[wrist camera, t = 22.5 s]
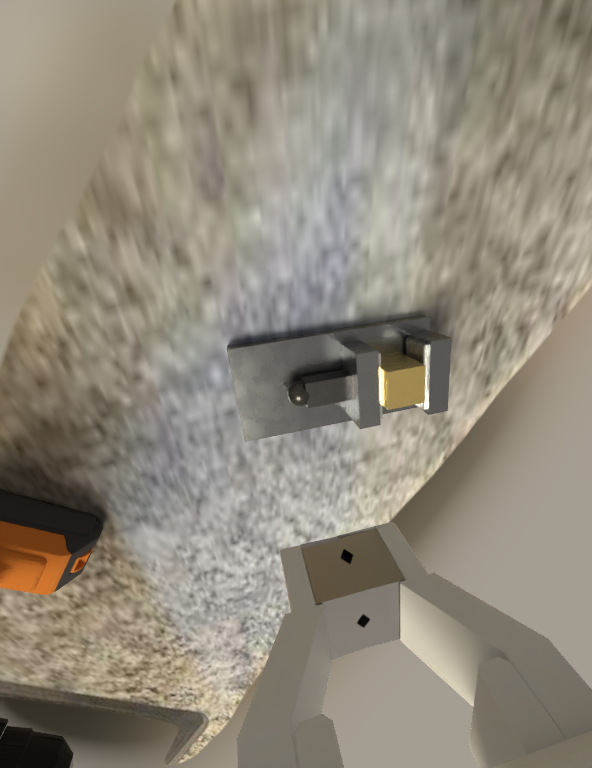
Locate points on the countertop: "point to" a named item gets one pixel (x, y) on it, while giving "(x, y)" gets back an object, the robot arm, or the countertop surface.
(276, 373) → the vise
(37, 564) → the power drill
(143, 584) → the countertop surface
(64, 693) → the countertop surface
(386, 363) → the block
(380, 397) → the jaw
